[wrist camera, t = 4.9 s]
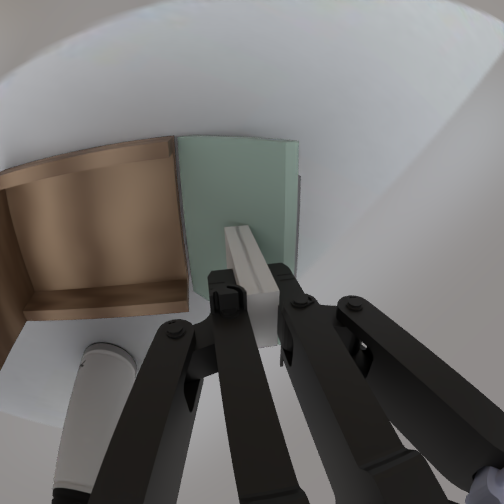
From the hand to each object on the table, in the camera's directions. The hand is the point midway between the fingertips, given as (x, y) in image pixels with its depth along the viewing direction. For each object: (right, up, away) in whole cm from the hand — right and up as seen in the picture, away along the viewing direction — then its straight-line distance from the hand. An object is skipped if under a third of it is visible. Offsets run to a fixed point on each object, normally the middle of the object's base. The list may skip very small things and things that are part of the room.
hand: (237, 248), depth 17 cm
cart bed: (-12, +2, +5) cm, 14 cm away
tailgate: (-4, +2, +5) cm, 6 cm away
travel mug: (-15, -12, +12) cm, 23 cm away
